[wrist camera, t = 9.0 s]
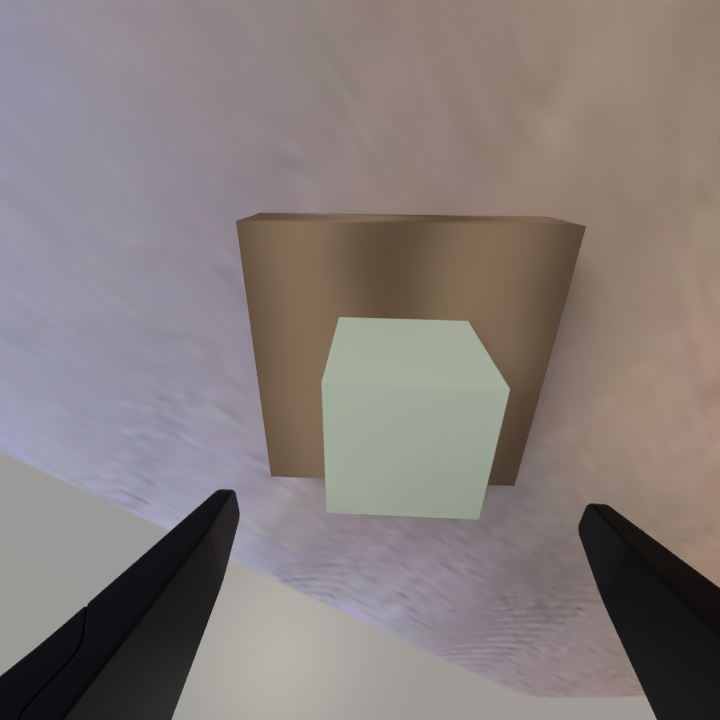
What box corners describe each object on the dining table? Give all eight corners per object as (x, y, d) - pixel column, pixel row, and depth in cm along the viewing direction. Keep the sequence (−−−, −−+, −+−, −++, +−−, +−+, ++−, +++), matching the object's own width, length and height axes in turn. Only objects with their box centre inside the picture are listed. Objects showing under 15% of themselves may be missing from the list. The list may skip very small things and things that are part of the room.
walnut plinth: (548, 217, 15) (585, 226, 12) (496, 444, 20) (514, 485, 18) (260, 213, 15) (236, 221, 13) (284, 437, 21) (271, 476, 18)
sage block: (468, 320, 14) (510, 389, 10) (451, 425, 16) (478, 519, 12) (338, 317, 14) (321, 382, 10) (340, 421, 16) (326, 512, 12)
